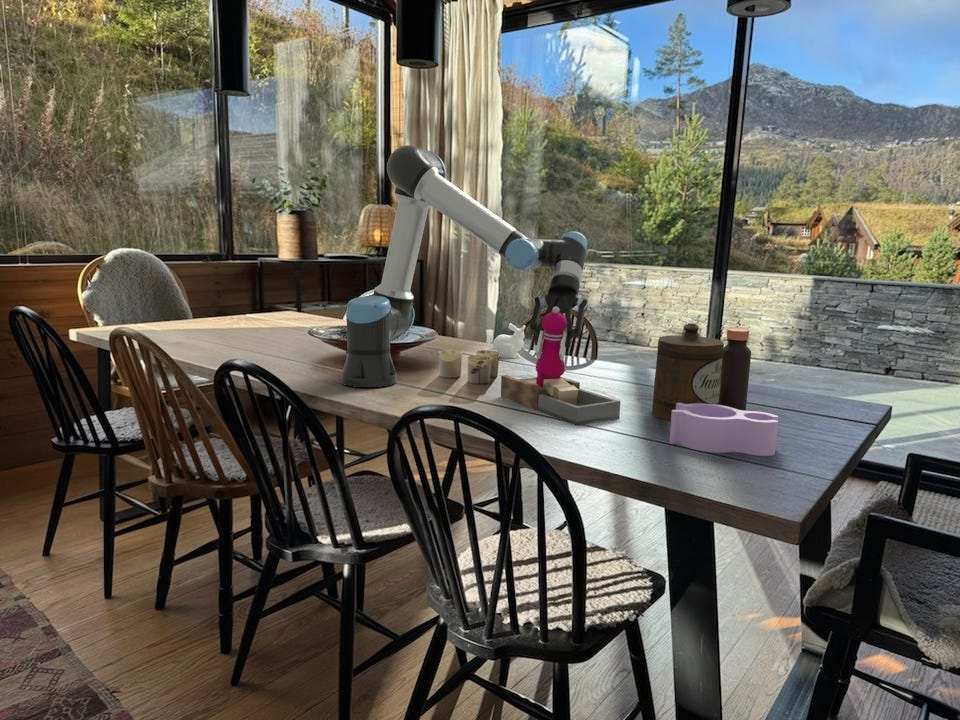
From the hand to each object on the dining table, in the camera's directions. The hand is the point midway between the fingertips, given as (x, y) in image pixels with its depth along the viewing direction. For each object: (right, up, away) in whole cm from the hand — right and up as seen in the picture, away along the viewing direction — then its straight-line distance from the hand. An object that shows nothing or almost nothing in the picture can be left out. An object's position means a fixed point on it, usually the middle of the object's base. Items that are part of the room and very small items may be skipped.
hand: (549, 356), depth 162 cm
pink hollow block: (+33, -19, -23) cm, 44 cm away
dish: (+6, -14, -3) cm, 15 cm away
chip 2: (+3, -9, -1) cm, 10 cm away
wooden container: (+32, -14, -2) cm, 35 cm away
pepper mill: (+1, -7, +7) cm, 10 cm away
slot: (-2, -11, +10) cm, 15 cm away
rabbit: (-6, 0, +69) cm, 69 cm away
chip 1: (+2, -9, +2) cm, 9 cm away
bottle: (+44, -14, +3) cm, 46 cm away
